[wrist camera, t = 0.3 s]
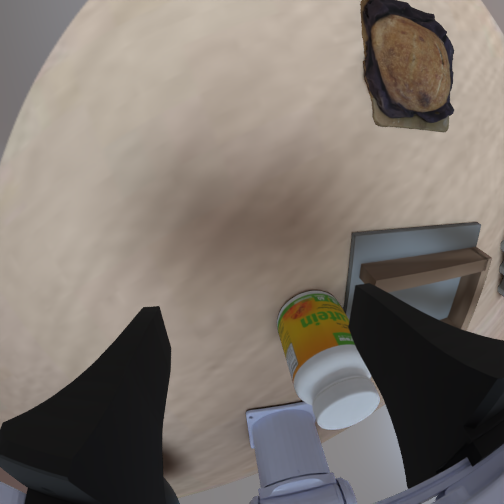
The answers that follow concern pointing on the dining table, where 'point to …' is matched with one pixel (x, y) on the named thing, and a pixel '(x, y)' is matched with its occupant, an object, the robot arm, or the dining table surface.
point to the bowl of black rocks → (170, 494)
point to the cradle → (422, 268)
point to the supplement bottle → (325, 360)
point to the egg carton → (503, 287)
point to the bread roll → (406, 66)
